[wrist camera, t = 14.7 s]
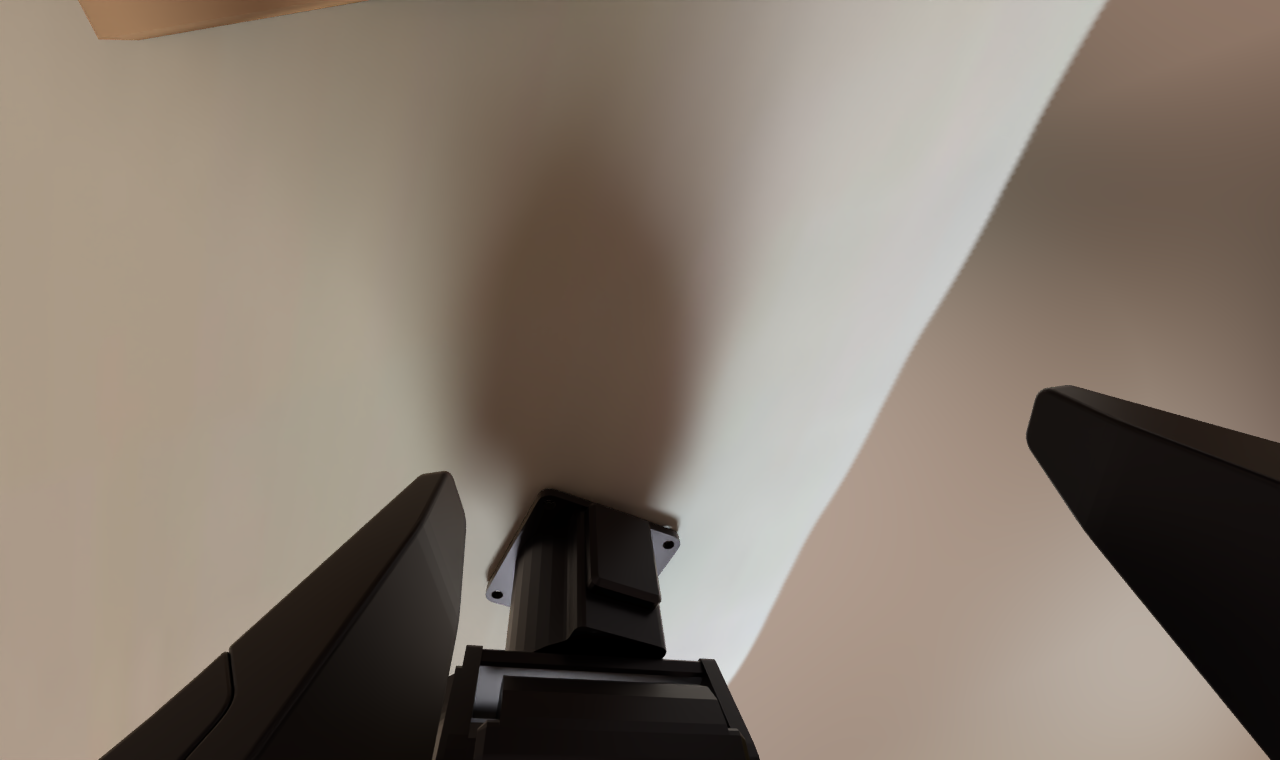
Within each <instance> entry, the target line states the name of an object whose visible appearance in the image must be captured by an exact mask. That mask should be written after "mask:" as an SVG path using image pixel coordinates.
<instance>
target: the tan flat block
mask: <svg viewBox="0 0 1280 760" xmlns="http://www.w3.org/2000/svg"><path fill="white" fill-rule="evenodd" d="M78 1H79V3H80V5H81V7H82V8H83V10H84V12H85V14H86V16H87V18H88V20H89V22H90V24H91V26H92V28H93V29H94V31H95V33H96V35H97V37H98V39H106V40H142V39H148V38H154V37H159V36H165V35H171V34H177V33H182V32H188V31H194V30H200V29H206V28H211V27H217V26H223V25H229V24H234V23H240V22H246V21H252V20H258V19H263V18H269V17H275V16H281V15H286V14H292V13H298V12H304V11H309V10H315V9H321V8H327V7H333V6H338V5H344V4H350V3H356V2H361V1H367V0H78Z"/></svg>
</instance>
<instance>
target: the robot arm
mask: <svg viewBox="0 0 1280 760" xmlns="http://www.w3.org/2000/svg"><path fill="white" fill-rule="evenodd" d="M1026 439H1027V444H1028V447H1029V449H1030V450H1031V452H1032V453H1033V455H1034V457H1035V458H1036V460H1037V461H1038V463H1039V464H1040V466H1041V467H1042V469H1043V470H1044V472H1045V473H1046V475H1047V476H1048V478H1049V479H1050V480H1051V482H1052V484H1053V485H1054V487H1055V488H1056V490H1057V491H1058V493H1059V494H1060V496H1061V497H1062V499H1063V500H1064V502H1065V503H1066V505H1067V506H1068V508H1069V509H1070V511H1071V512H1072V514H1073V515H1074V517H1075V518H1076V520H1077V521H1078V522H1079V524H1080V525H1081V527H1082V528H1083V530H1084V531H1085V532H1086V533H1087V535H1088V536H1089V537H1090V539H1091V540H1092V541H1093V542H1094V544H1095V545H1096V546H1097V547H1098V549H1099V550H1100V551H1101V552H1102V554H1103V555H1104V556H1105V557H1106V559H1107V560H1108V561H1109V562H1110V563H1111V565H1112V566H1113V567H1114V568H1115V570H1116V571H1117V572H1118V573H1119V575H1120V576H1121V577H1122V578H1123V579H1124V581H1125V582H1126V583H1127V584H1128V586H1129V587H1130V588H1131V589H1132V590H1133V592H1134V593H1135V594H1136V595H1137V597H1138V598H1139V599H1140V600H1141V601H1142V603H1143V604H1144V605H1145V606H1146V608H1147V609H1148V610H1149V611H1150V613H1151V614H1152V615H1153V616H1154V617H1155V619H1156V620H1157V621H1158V622H1159V624H1160V625H1161V626H1162V627H1163V628H1164V630H1165V631H1166V632H1167V633H1168V635H1169V636H1170V637H1171V638H1172V640H1173V641H1174V642H1175V643H1176V644H1177V646H1178V647H1179V648H1180V649H1181V651H1182V652H1183V653H1184V654H1185V655H1186V656H1187V658H1188V659H1189V660H1190V662H1191V663H1192V664H1193V665H1194V666H1195V668H1196V669H1197V670H1198V671H1199V673H1200V674H1201V675H1202V676H1203V677H1204V679H1205V680H1206V681H1207V682H1208V684H1209V685H1210V686H1211V687H1212V689H1213V690H1214V691H1215V692H1216V693H1217V694H1218V696H1219V697H1220V698H1221V699H1222V701H1223V702H1224V703H1225V704H1226V706H1227V707H1228V708H1229V709H1230V711H1231V712H1232V713H1233V714H1234V716H1235V717H1236V718H1237V719H1238V720H1239V722H1240V723H1241V724H1242V725H1243V727H1244V728H1245V729H1246V730H1247V731H1248V733H1249V734H1250V735H1251V736H1252V738H1253V739H1254V740H1255V741H1256V743H1257V744H1258V745H1259V746H1260V747H1261V749H1262V750H1263V751H1264V752H1265V754H1266V755H1267V756H1268V757H1269V758H1270V760H1280V443H1277V442H1274V441H1270V440H1267V439H1263V438H1260V437H1256V436H1252V435H1249V434H1245V433H1242V432H1238V431H1234V430H1231V429H1227V428H1223V427H1220V426H1216V425H1213V424H1209V423H1206V422H1202V421H1198V420H1195V419H1191V418H1187V417H1184V416H1180V415H1177V414H1173V413H1169V412H1166V411H1162V410H1159V409H1155V408H1152V407H1148V406H1144V405H1141V404H1137V403H1133V402H1130V401H1126V400H1123V399H1119V398H1115V397H1111V396H1108V395H1105V394H1101V393H1097V392H1093V391H1090V390H1087V389H1083V388H1079V387H1075V386H1071V385H1065V386H1058V387H1050V388H1045V389H1043V390H1041V391H1040V392H1039V393H1038V394H1037V396H1036V398H1035V402H1034V405H1033V409H1032V413H1031V416H1030V420H1029V424H1028V428H1027V432H1026ZM547 500H552V501H554V502H553V503H546V502H545V501H547ZM465 536H466V518H465V513H464V509H463V506H462V503H461V500H460V497H459V494H458V491H457V488H456V485H455V482H454V479H453V477H452V475H451V474H450V473H449V472H447V471H441V472H434V473H426V474H422V475H420V476H419V477H417V478H416V479H415V480H414V481H413V482H412V483H411V484H410V485H409V486H407V487H406V488H405V489H404V490H403V491H402V492H401V493H400V494H399V495H397V496H396V497H395V498H394V499H393V500H392V501H391V502H390V503H389V504H387V505H386V506H385V507H384V508H383V509H382V510H381V511H380V512H379V513H378V514H376V515H375V516H374V517H373V518H372V519H371V520H370V521H369V522H368V523H366V524H365V525H364V526H363V527H362V528H361V529H360V530H359V531H358V532H356V533H355V534H354V535H353V536H352V537H351V538H350V539H349V540H348V541H347V542H345V543H344V544H343V545H342V546H341V547H340V548H339V549H338V550H337V551H335V552H334V553H333V554H332V555H331V556H330V557H329V558H328V559H327V560H325V561H324V562H323V563H322V564H321V565H320V566H319V567H318V568H317V569H315V570H314V571H313V572H312V573H311V574H310V575H309V576H308V577H307V578H306V579H304V580H303V581H302V582H301V583H300V584H299V585H298V586H297V587H296V588H294V589H293V590H292V591H291V592H290V593H289V594H288V595H287V596H286V597H284V598H283V599H282V600H281V601H280V602H279V603H278V604H277V605H276V606H274V607H273V608H272V609H271V610H270V611H269V612H268V613H267V614H266V615H264V616H263V617H262V618H261V619H260V620H259V621H258V622H257V623H256V624H254V625H253V626H252V627H251V628H250V629H249V630H248V631H247V632H246V633H245V634H243V635H242V636H241V637H240V638H239V639H238V640H237V641H236V642H235V643H233V644H232V645H231V646H230V648H229V652H224V653H222V654H221V655H220V656H219V657H218V658H217V659H215V660H214V661H213V662H212V663H211V664H210V665H209V666H208V667H207V668H206V669H204V670H203V671H202V672H201V673H200V674H199V675H198V676H197V677H196V678H194V679H193V680H192V681H191V682H190V683H189V684H188V685H186V686H185V687H184V688H183V689H182V690H181V691H179V692H178V693H177V694H176V695H175V696H174V697H173V698H171V699H170V700H169V701H168V702H167V703H166V704H165V705H163V706H162V707H161V708H160V709H159V710H158V711H157V712H155V713H154V714H153V715H152V716H151V717H150V718H148V719H147V720H146V721H145V722H144V723H142V724H141V725H140V726H139V727H138V728H136V729H135V730H134V731H133V732H131V733H130V734H129V735H128V736H127V737H125V738H124V739H123V740H122V741H121V742H119V743H118V744H117V745H116V746H115V747H113V748H112V749H111V750H110V751H108V752H107V753H106V754H105V755H104V756H102V757H101V758H100V759H99V760H760V759H759V755H758V753H757V750H756V747H755V745H754V742H753V740H752V738H751V736H750V734H749V732H748V730H747V727H746V725H745V723H744V721H743V719H742V717H741V715H740V712H739V710H738V708H737V706H736V704H735V702H734V700H733V697H732V695H731V693H730V691H729V689H728V687H727V684H726V682H725V680H724V678H723V676H722V674H721V672H720V669H719V667H718V665H717V663H716V661H715V659H699V660H698V661H686V660H668V659H662V658H663V657H664V656H665V655H666V645H665V639H664V632H663V625H662V619H661V612H660V606H659V604H660V602H661V593H660V587H659V580H658V576H659V574H660V573H661V572H662V570H663V569H664V568H665V566H666V565H667V563H668V562H669V561H670V559H671V558H672V557H673V555H674V554H675V552H676V551H677V550H678V548H679V546H680V541H679V536H678V534H677V532H675V531H673V530H671V529H668V528H665V527H662V526H659V525H656V524H654V523H651V522H648V521H646V520H643V519H640V518H637V517H634V516H631V515H629V514H626V513H623V512H620V511H617V510H614V509H611V508H608V507H605V506H602V505H600V504H596V503H593V502H590V501H587V500H584V499H581V498H578V497H575V496H572V495H570V494H567V493H564V492H561V491H558V490H555V489H545V490H543V491H541V492H540V493H539V494H538V496H537V498H536V500H535V501H534V503H533V505H532V507H531V508H530V510H529V512H528V514H527V516H526V517H525V519H524V521H523V523H522V524H521V526H520V528H519V530H518V531H517V533H516V535H515V537H514V539H513V540H512V542H511V544H510V546H509V547H508V549H507V551H506V553H505V554H504V556H503V558H502V560H501V562H500V563H499V565H498V567H497V569H496V570H495V572H494V574H493V576H492V577H491V579H490V581H489V583H488V585H487V589H486V598H487V599H488V600H489V601H491V602H494V603H498V604H501V605H505V606H509V607H510V614H509V622H508V631H507V639H506V648H505V650H493V649H483V646H475V645H467V646H466V651H465V656H464V661H463V666H456V669H455V674H453V675H451V676H449V671H450V666H451V661H452V656H453V650H454V645H455V640H456V635H457V629H458V623H459V614H460V603H461V590H462V576H463V563H464V549H465ZM668 540H669V541H671V542H668V543H666V542H665V541H668ZM497 591H500V592H497ZM448 676H449V677H448Z"/></svg>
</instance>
